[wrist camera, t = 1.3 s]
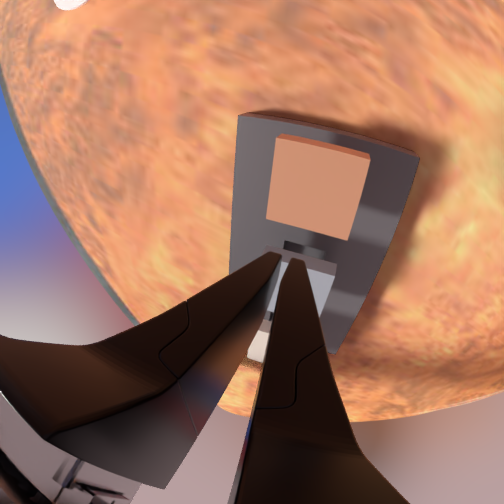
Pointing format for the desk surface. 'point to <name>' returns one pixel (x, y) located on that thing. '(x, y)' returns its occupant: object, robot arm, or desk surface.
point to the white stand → (70, 4)
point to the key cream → (259, 342)
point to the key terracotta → (316, 185)
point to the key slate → (317, 270)
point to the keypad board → (309, 242)
